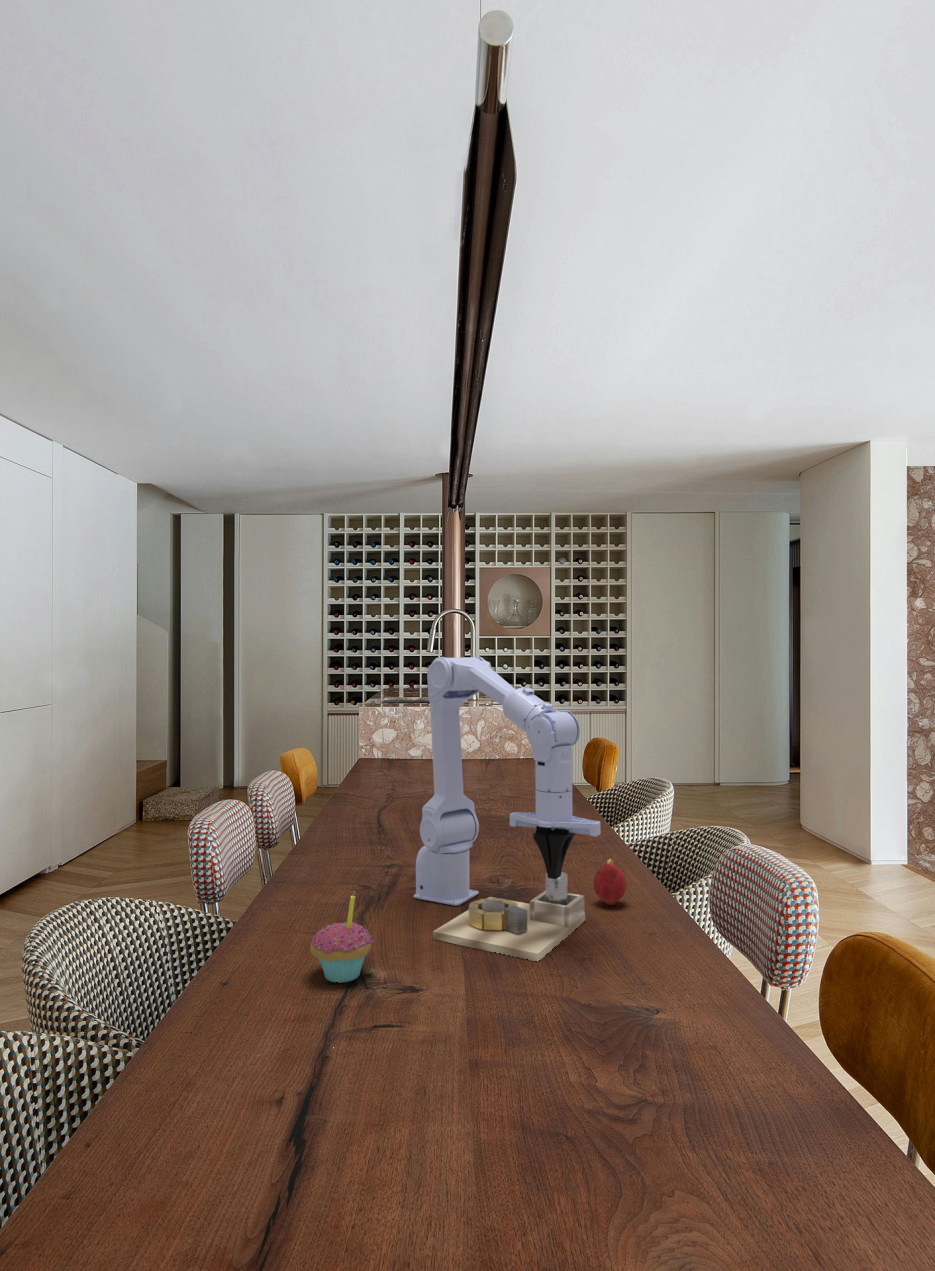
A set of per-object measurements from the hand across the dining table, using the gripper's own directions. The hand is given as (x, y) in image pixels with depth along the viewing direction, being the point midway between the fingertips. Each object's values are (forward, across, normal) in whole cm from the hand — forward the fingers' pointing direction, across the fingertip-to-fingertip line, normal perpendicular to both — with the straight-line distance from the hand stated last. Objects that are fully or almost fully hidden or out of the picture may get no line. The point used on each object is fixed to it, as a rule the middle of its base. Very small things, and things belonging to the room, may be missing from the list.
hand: (554, 877), depth 119 cm
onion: (+10, +2, +20) cm, 22 cm away
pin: (+9, -2, +7) cm, 11 cm away
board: (+10, -8, +1) cm, 13 cm away
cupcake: (+10, -21, -26) cm, 35 cm away
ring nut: (+8, -9, -1) cm, 13 cm away
